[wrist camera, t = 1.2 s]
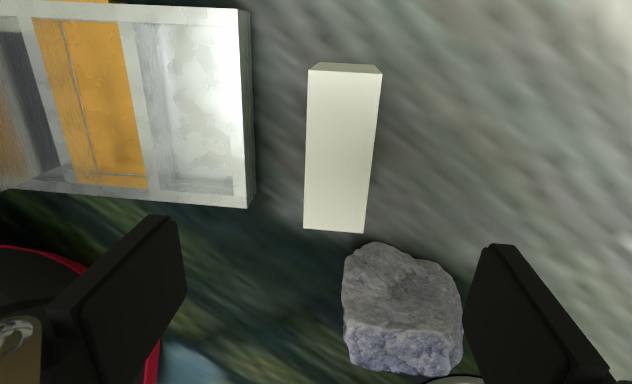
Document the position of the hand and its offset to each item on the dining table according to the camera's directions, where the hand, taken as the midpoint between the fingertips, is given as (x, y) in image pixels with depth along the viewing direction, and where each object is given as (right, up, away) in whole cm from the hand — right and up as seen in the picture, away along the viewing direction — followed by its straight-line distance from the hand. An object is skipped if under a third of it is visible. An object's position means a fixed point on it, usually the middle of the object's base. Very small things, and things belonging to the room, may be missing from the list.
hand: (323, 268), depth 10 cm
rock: (+7, -4, +21) cm, 23 cm away
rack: (-16, +9, +17) cm, 25 cm away
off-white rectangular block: (+2, +7, +16) cm, 18 cm away
